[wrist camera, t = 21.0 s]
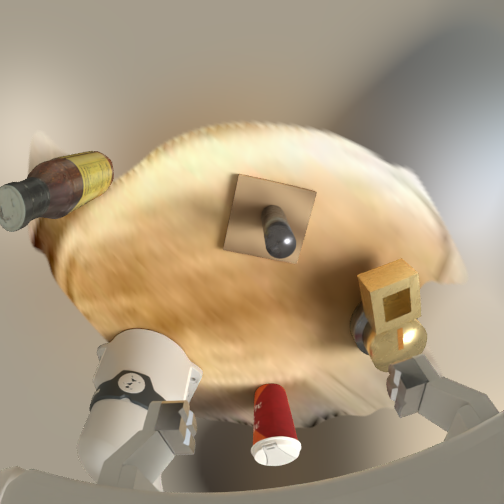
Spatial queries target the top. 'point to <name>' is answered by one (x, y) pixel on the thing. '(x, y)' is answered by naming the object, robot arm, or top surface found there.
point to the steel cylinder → (277, 232)
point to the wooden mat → (251, 206)
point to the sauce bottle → (55, 189)
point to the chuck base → (358, 326)
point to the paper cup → (273, 427)
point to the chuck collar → (392, 313)
